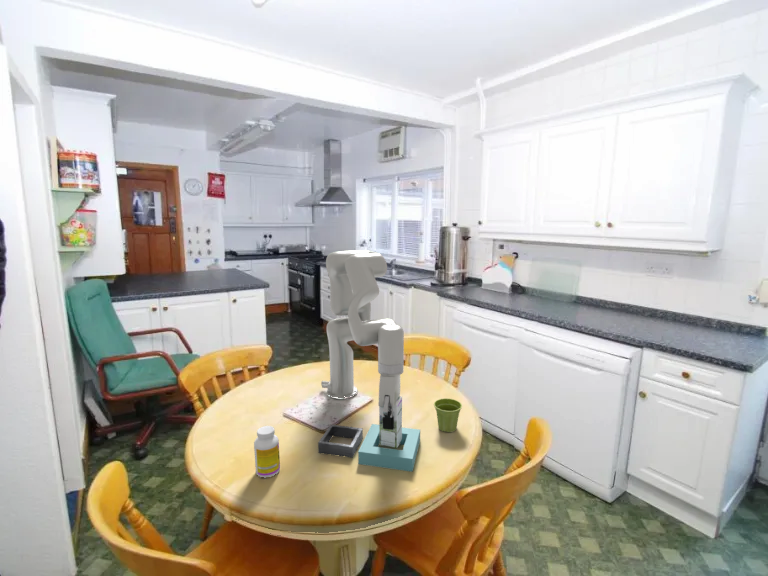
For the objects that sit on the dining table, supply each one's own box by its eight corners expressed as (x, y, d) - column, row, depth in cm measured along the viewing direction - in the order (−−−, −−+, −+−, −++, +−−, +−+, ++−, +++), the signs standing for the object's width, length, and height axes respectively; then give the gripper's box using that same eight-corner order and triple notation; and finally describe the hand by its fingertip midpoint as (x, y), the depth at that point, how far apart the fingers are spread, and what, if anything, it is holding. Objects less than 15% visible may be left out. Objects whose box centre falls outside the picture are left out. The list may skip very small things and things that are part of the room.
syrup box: (402, 439, 122) (402, 395, 120) (396, 449, 117) (397, 403, 114) (385, 435, 124) (385, 392, 121) (378, 445, 118) (378, 401, 116)
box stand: (318, 453, 120) (318, 442, 120) (331, 434, 131) (330, 424, 130) (352, 457, 118) (352, 447, 117) (362, 438, 128) (362, 428, 128)
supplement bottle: (283, 473, 111) (281, 431, 108) (259, 482, 107) (256, 439, 105) (276, 461, 116) (273, 421, 114) (253, 469, 113) (250, 428, 110)
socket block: (358, 464, 115) (358, 451, 114) (372, 435, 130) (372, 423, 130) (412, 471, 111) (412, 458, 111) (420, 441, 127) (420, 429, 126)
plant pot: (444, 438, 128) (444, 413, 127) (428, 425, 137) (428, 401, 135) (466, 431, 133) (467, 407, 131) (449, 418, 141) (450, 396, 139)
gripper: (384, 355, 125) (385, 408, 128) (371, 376, 109) (371, 436, 112) (408, 357, 123) (407, 410, 127) (397, 379, 107) (397, 439, 110)
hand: (390, 422), depth 119 cm, fingers closed on syrup box, 6 cm apart
